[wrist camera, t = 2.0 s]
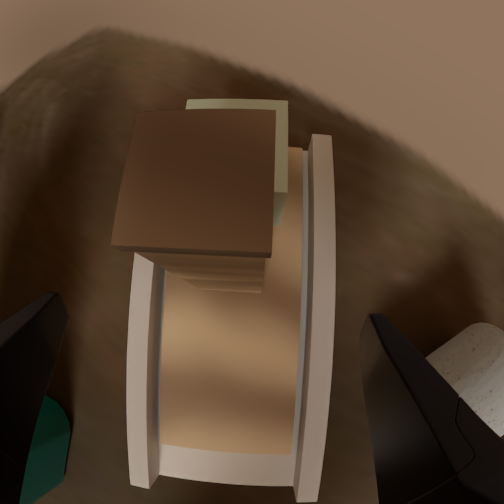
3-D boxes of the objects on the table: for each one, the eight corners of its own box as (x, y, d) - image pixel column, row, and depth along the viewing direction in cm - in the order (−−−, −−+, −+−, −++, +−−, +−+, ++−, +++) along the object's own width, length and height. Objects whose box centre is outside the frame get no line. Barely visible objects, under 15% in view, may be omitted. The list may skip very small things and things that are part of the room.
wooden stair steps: (289, 448, 17) (327, 594, 4) (164, 438, 17) (61, 553, 5) (300, 155, 21) (337, -5, 8) (185, 152, 21) (125, 0, 8)
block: (279, 225, 19) (287, 192, 14) (193, 222, 19) (172, 189, 14) (281, 149, 20) (287, 100, 15) (202, 147, 20) (187, 99, 15)
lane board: (309, 480, 17) (317, 501, 14) (145, 466, 17) (130, 484, 14) (323, 157, 22) (331, 135, 19) (166, 153, 22) (155, 131, 19)
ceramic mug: (353, 381, 19) (404, 414, 11) (450, 320, 19) (524, 317, 12) (399, 492, 17) (445, 544, 9) (483, 432, 17) (545, 458, 10)
